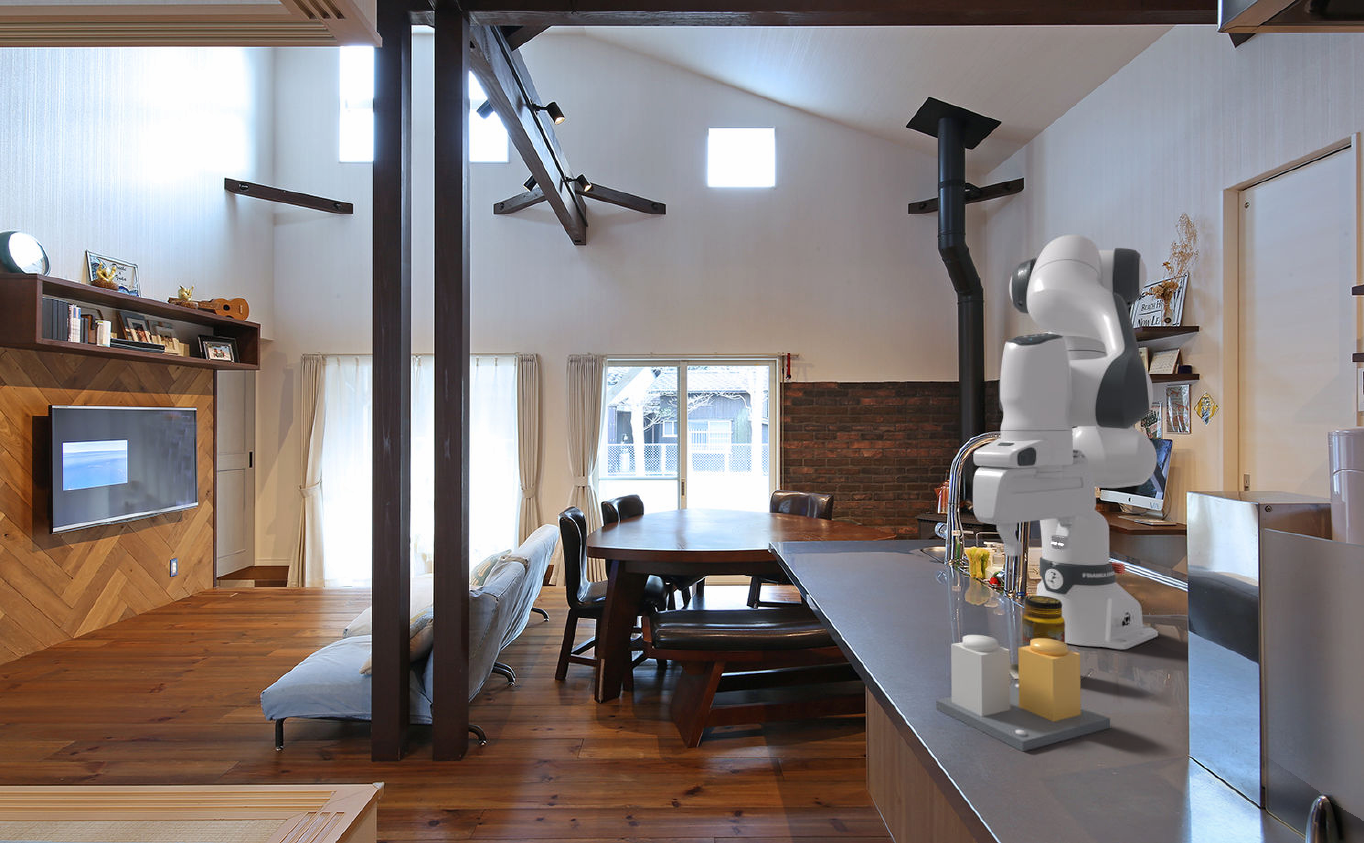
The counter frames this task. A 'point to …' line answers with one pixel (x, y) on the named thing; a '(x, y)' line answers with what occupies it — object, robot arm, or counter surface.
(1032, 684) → the yellow knob block
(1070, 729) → the plate
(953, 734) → the counter surface
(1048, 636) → the condiment
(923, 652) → the counter surface
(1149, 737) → the counter surface
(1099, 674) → the counter surface
